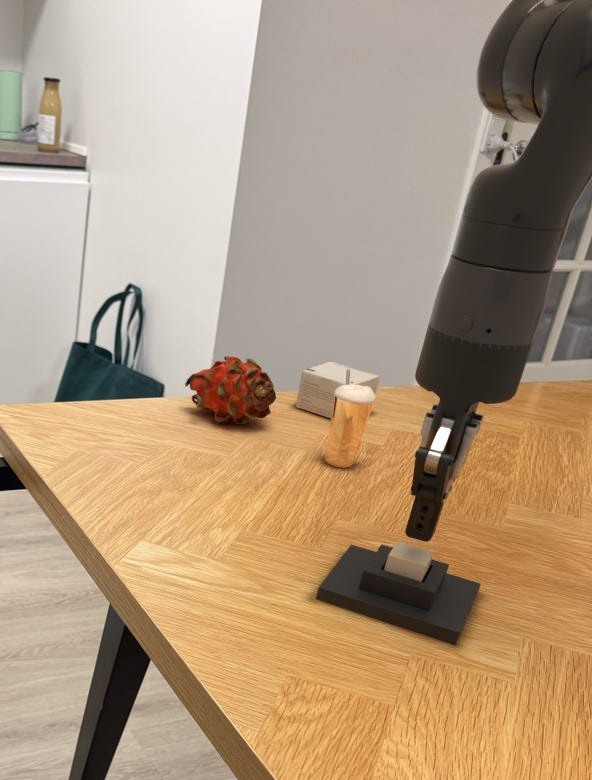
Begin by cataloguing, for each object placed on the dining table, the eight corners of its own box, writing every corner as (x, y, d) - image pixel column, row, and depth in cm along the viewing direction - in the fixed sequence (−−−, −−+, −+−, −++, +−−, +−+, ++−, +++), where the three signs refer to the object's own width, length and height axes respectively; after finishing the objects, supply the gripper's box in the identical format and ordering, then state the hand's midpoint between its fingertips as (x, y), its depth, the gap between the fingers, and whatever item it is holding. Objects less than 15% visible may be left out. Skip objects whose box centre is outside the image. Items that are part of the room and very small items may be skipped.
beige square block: (428, 569, 78) (434, 551, 77) (420, 584, 75) (426, 565, 74) (392, 558, 79) (397, 540, 78) (383, 572, 76) (388, 554, 75)
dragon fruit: (272, 446, 111) (184, 436, 116) (292, 392, 114) (205, 385, 119) (260, 401, 104) (167, 392, 109) (282, 345, 107) (190, 339, 112)
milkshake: (346, 452, 107) (366, 370, 102) (364, 470, 103) (386, 385, 97) (311, 452, 106) (329, 368, 101) (327, 470, 102) (348, 383, 96)
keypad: (477, 594, 80) (487, 565, 78) (455, 645, 73) (467, 614, 71) (348, 555, 84) (355, 526, 83) (315, 598, 77) (323, 568, 75)
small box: (372, 412, 121) (382, 375, 118) (344, 424, 116) (353, 385, 113) (323, 396, 125) (331, 360, 122) (293, 407, 120) (301, 369, 117)
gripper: (522, 356, 59) (447, 581, 69) (545, 319, 69) (477, 520, 79) (410, 334, 62) (353, 553, 72) (448, 301, 72) (394, 498, 82)
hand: (418, 535), depth 75 cm, fingers closed
